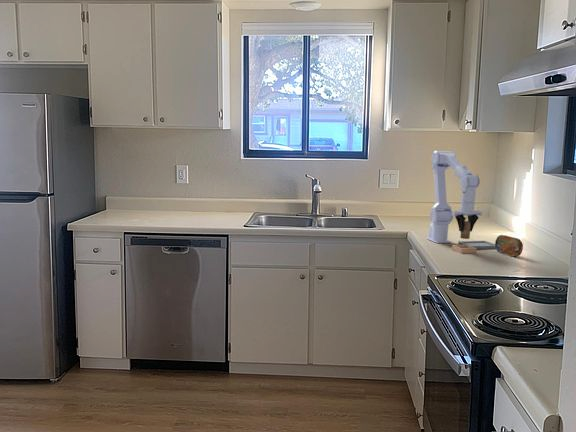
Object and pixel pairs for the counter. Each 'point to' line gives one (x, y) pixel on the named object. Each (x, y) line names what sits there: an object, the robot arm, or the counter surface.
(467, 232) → the brown rounded cylinder
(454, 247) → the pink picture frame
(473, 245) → the tray
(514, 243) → the tin
